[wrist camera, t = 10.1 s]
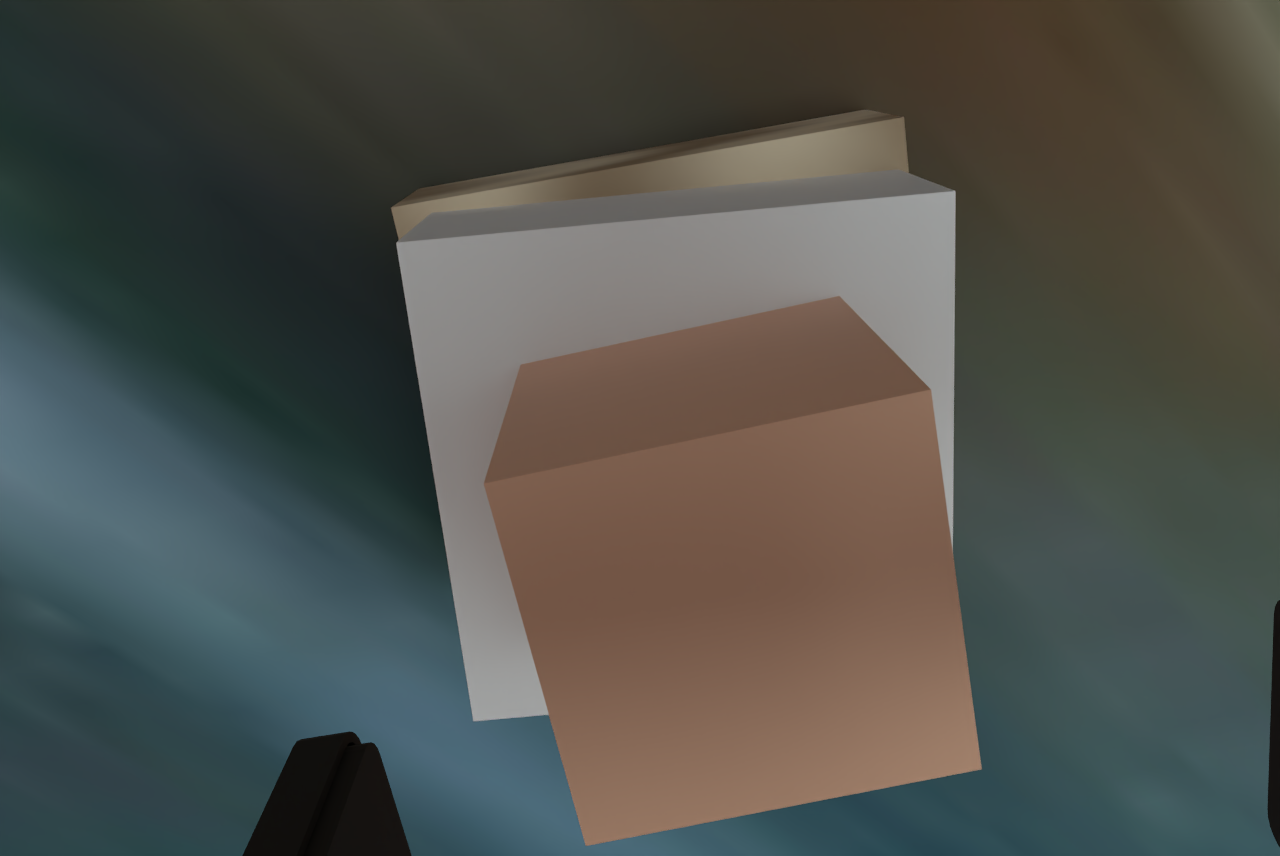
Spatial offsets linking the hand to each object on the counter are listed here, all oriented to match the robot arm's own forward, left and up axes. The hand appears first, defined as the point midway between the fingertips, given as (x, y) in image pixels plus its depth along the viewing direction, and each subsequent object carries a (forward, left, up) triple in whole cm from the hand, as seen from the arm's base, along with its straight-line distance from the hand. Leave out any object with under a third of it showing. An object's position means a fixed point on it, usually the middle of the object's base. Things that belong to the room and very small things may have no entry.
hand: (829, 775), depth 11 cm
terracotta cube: (0, +1, -10) cm, 10 cm away
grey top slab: (+1, +1, -14) cm, 14 cm away
